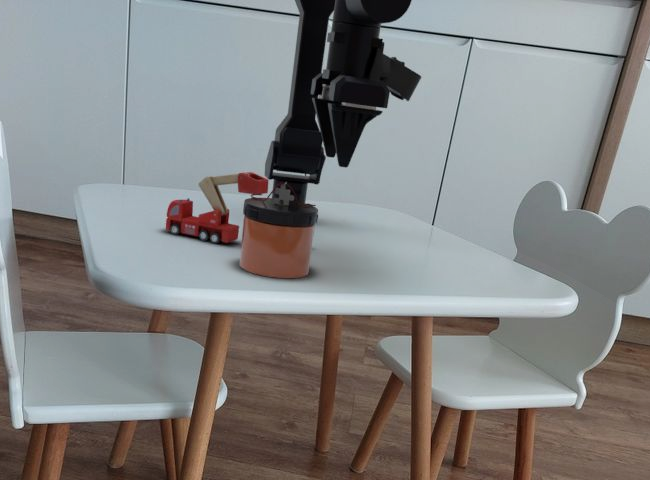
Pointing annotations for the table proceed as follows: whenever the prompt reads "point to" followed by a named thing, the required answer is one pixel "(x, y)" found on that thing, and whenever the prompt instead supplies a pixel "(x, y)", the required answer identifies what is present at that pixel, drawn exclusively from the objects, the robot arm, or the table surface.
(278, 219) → the jar lid
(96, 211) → the table surface
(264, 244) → the jar
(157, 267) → the table surface
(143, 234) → the table surface
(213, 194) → the toy fire truck
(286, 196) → the pendant
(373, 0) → the robot arm
